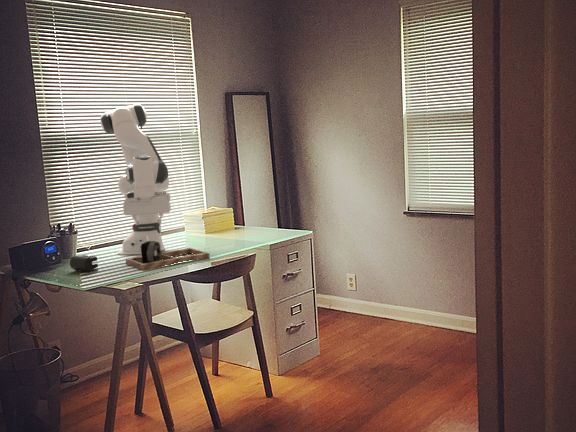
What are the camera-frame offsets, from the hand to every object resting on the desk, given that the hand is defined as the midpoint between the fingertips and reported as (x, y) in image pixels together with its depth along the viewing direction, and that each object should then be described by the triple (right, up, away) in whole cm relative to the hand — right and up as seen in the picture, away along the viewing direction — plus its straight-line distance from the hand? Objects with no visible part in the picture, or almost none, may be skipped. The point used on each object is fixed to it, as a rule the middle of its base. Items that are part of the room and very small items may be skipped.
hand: (148, 224), depth 271 cm
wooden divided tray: (+7, -17, +7) cm, 19 cm away
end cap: (-27, -21, -4) cm, 34 cm away
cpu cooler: (+1, -18, +2) cm, 18 cm away
